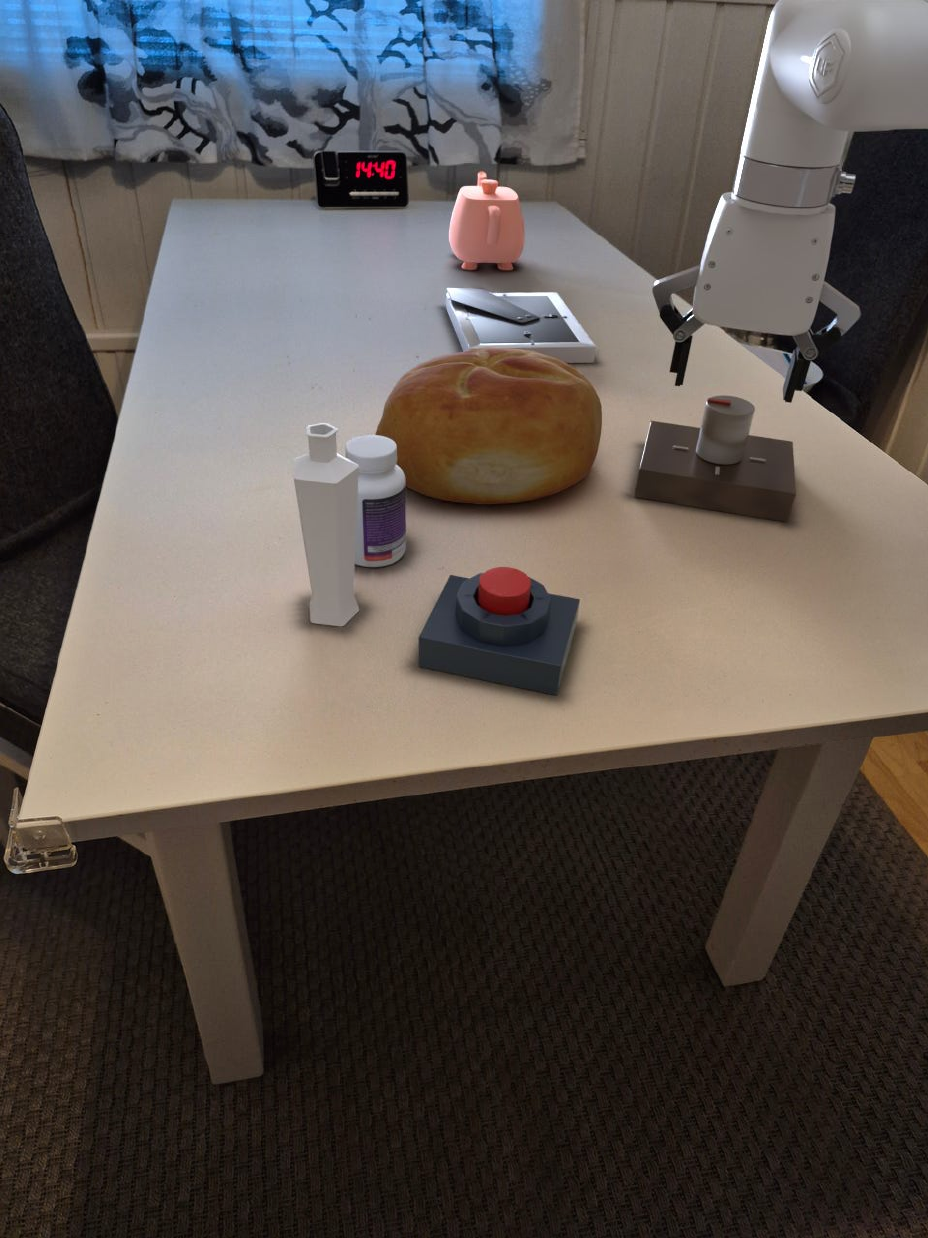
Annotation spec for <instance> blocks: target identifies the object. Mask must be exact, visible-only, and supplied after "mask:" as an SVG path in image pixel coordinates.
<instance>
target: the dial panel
mask: <svg viewBox="0 0 928 1238" xmlns="http://www.w3.org/2000/svg"><path fill="white" fill-rule="evenodd" d="M700 428H701V427H697V426H691V425H683V424H678V423H671V422H670V423H669V422H663V421H658V420H657V421H655V420H650V422H649V426H648V431H647V435H646V439H645V444H644V447H643V452H642V456H641V460H640V464H639V467H638V473H637V478H636V485H635V491H634V495H633V497H634V498H638V499H644V500H649V501H650V500H651V501H656V502H662V503H668V504H674V505H681V506H686V507H693V508H700V509H705V510H711V511H716V512H721V513H729V514H735V515H741V516H747V517H753V518H759V519H765V520H771V521H777V522H782V523H788V521H789V518H790V515H791V512H792V508H793V506H794V502H795V499H796V496H797V489H796V471H795V455H794V442H793V441H792V440H784V439H777V438H772V437H764V436H757V435H752V434H749V435H748V439H747V442H746V446H745V450H744V454H743V458H742V460H741V461H740V462H738V463H735V464H729V465H723V464H716V463H711V462H708V461H706V460H704V459H702V458H701V457H699V456H698V455H697V453H696V446H697V442H698V437H699V433H700Z"/></svg>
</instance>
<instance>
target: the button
mask: <svg viewBox="0 0 928 1238" xmlns="http://www.w3.org/2000/svg"><path fill="white" fill-rule="evenodd" d="M482 573H483V574H482V575H481V576H480V579H479V592H478V602H479V604H480V606H481V607H482V608H483V609H484V610H486V611H487V612H489V613H492V614H497V615H503V616H506V615H514V614H520V613H522V612H523V611H525V610H526V609H527V607H528V605H529V599H530V589H531V581H530V579H529V577H530V576H528V574H527V573H525V572H523V571H522V570H520V569H518V568H514V567H509V566H497V567H496V566H495V567H491V568H489V569H486V570H485V571H484V572H482Z"/></svg>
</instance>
